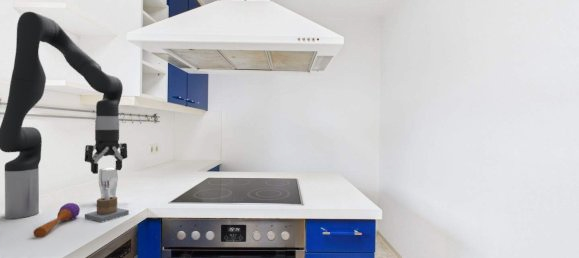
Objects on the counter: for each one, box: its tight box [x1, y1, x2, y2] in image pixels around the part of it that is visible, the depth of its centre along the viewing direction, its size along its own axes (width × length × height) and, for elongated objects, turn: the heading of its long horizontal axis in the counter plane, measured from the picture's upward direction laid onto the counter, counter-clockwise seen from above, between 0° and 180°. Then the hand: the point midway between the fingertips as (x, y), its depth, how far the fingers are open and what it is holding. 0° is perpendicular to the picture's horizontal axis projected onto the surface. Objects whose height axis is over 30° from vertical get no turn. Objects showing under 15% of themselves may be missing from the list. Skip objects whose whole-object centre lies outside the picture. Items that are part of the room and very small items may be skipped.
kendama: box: [32, 202, 81, 238], centre depth 94 cm, size 6×6×20 cm
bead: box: [96, 196, 118, 215], centre depth 104 cm, size 6×6×5 cm
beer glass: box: [98, 167, 119, 198], centre depth 121 cm, size 7×7×15 cm
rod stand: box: [84, 188, 130, 223], centre depth 104 cm, size 10×10×11 cm
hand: (107, 171), depth 104 cm, fingers open, 8 cm apart
